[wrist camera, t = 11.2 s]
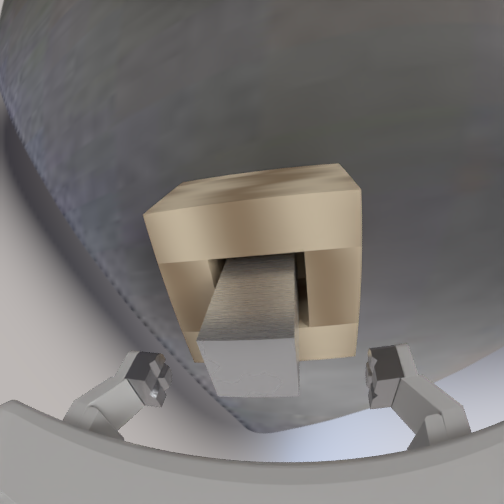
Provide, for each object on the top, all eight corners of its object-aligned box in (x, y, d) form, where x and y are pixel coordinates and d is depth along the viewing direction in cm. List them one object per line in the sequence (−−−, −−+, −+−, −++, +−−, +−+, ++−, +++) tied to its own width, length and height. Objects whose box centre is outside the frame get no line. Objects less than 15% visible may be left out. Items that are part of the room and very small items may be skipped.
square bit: (292, 222, 18) (294, 337, 9) (297, 270, 20) (299, 396, 11) (238, 228, 19) (195, 340, 10) (247, 274, 20) (218, 396, 12)
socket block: (338, 163, 17) (361, 189, 12) (343, 298, 22) (355, 356, 16) (182, 182, 19) (143, 214, 14) (213, 306, 23) (194, 362, 18)
